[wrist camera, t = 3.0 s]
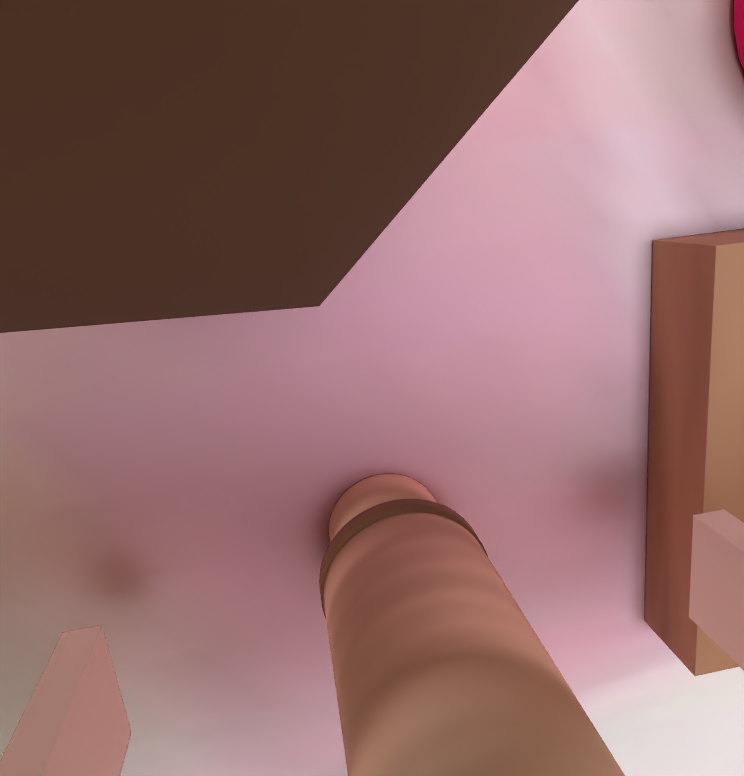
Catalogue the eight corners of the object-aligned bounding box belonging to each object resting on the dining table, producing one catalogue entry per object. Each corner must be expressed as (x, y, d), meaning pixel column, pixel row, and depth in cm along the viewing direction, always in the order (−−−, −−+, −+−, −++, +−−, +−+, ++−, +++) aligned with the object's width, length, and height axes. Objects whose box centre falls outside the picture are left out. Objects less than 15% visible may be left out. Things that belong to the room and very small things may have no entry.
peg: (322, 601, 18) (470, 1666, 5) (302, 471, 17) (426, 1416, 4) (460, 575, 19) (932, 1482, 5) (449, 448, 18) (1023, 1208, 4)
